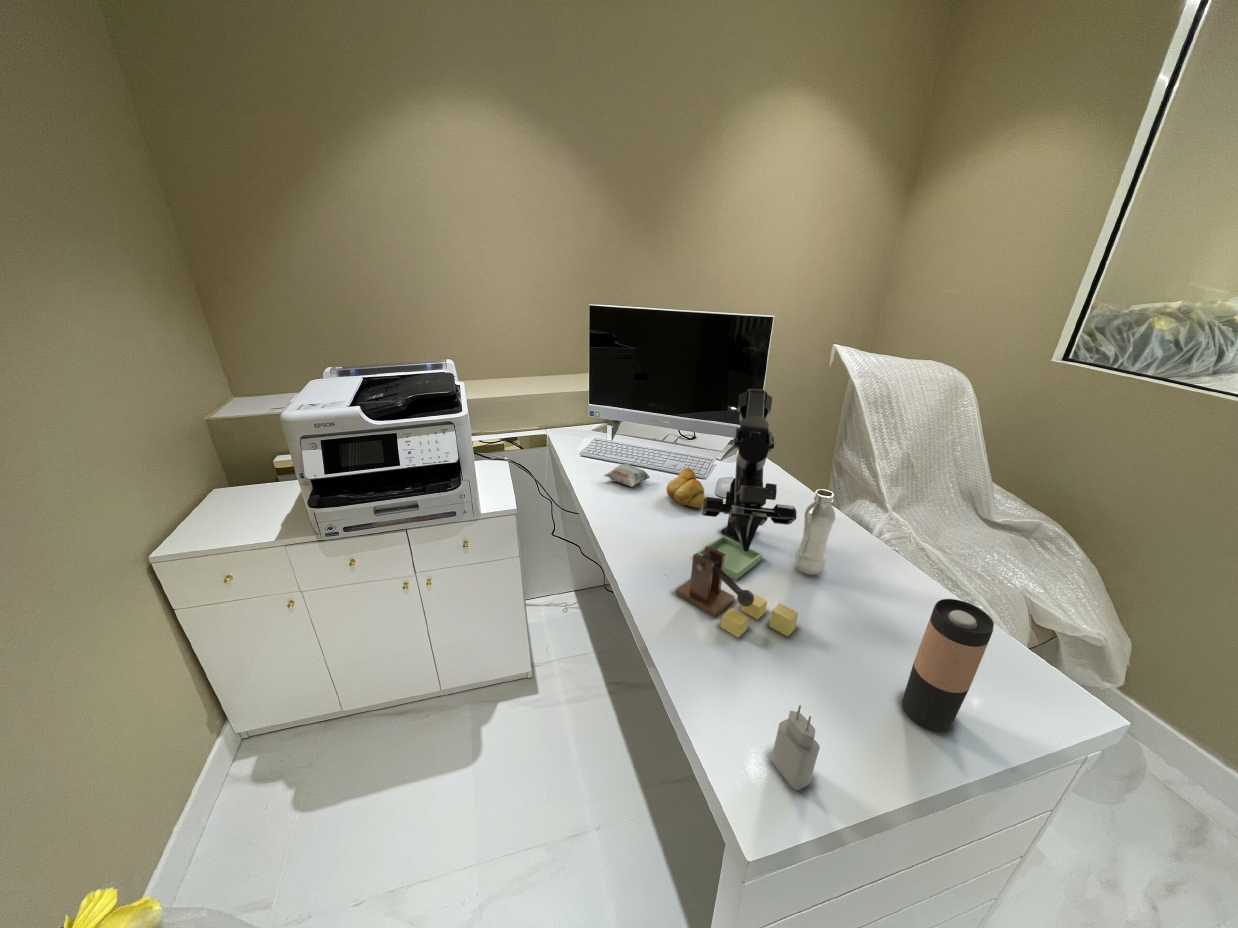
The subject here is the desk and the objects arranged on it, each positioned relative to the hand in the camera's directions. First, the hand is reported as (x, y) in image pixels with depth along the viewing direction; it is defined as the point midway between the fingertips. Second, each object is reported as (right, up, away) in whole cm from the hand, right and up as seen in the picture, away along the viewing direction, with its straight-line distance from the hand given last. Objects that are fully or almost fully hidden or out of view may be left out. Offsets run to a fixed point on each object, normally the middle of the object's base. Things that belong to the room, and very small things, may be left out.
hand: (745, 551), depth 102 cm
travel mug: (+24, -23, -21) cm, 39 cm away
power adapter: (-1, -26, -30) cm, 40 cm away
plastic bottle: (+18, -7, +14) cm, 24 cm away
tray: (0, -5, +17) cm, 17 cm away
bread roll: (-6, +7, +43) cm, 44 cm away
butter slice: (+6, -14, -4) cm, 16 cm away
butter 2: (+2, -12, 0) cm, 12 cm away
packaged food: (-24, +12, +53) cm, 59 cm away
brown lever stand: (-8, -10, +4) cm, 14 cm away
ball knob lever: (-5, -7, -1) cm, 8 cm away
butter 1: (-3, -14, -4) cm, 15 cm away
